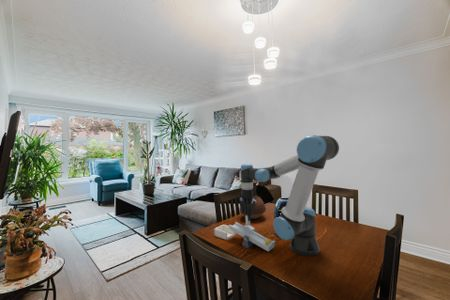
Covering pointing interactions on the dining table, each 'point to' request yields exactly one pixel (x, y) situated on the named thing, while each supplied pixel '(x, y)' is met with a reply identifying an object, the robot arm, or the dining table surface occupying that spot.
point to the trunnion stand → (247, 242)
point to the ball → (267, 241)
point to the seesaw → (251, 235)
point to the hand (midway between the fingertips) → (247, 225)
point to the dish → (224, 232)
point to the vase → (259, 205)
